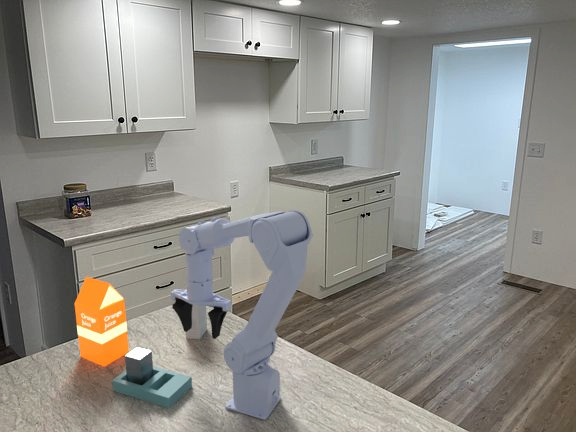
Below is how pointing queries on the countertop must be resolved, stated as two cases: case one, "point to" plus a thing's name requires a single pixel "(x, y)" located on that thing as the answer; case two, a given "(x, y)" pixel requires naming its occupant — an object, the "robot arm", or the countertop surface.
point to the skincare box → (198, 322)
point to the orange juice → (101, 322)
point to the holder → (156, 387)
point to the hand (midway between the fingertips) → (201, 333)
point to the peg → (139, 366)
